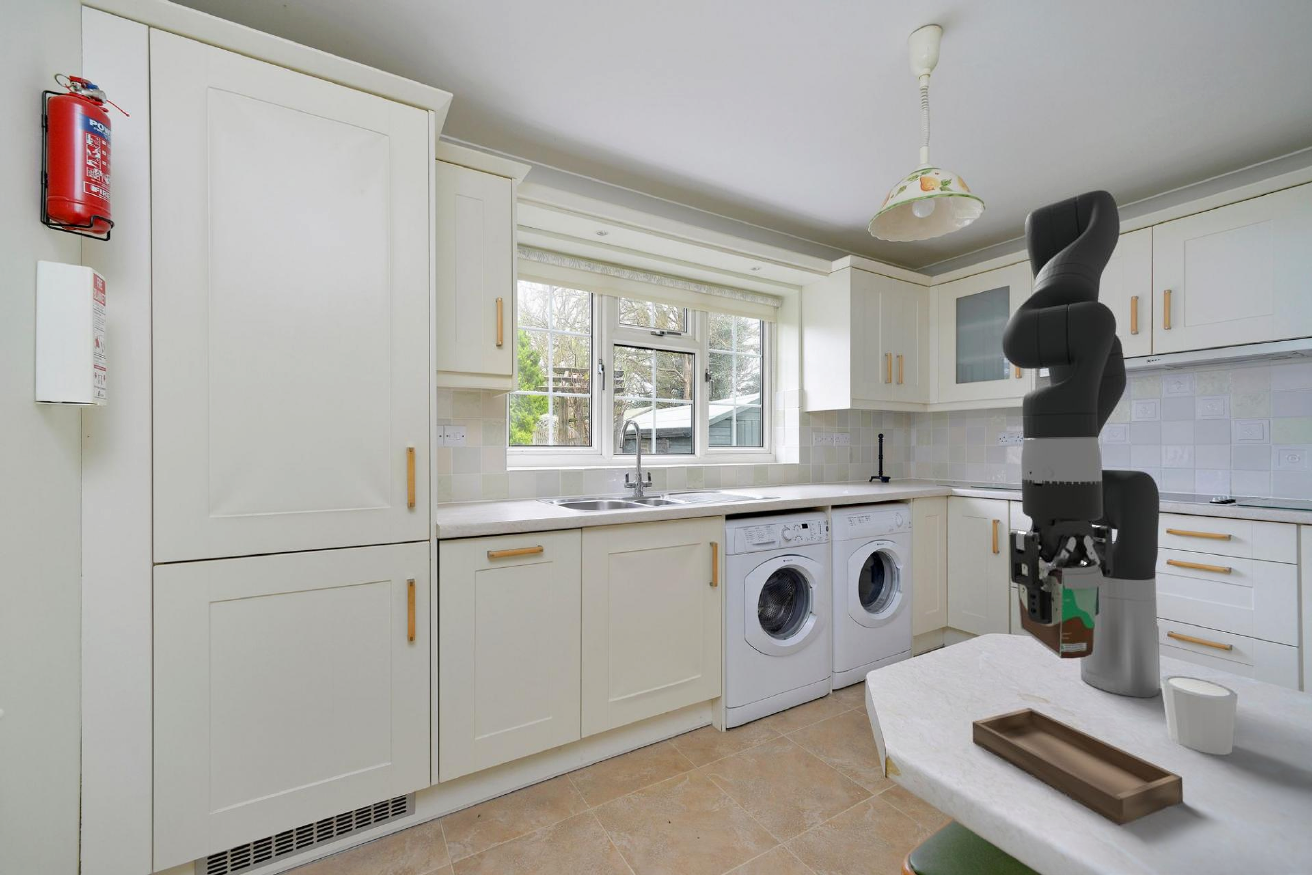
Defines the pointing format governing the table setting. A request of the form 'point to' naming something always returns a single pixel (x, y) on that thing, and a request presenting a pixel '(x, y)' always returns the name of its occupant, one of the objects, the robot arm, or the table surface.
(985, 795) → the table surface
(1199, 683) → the white cup
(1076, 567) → the food container
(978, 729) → the walnut tray
